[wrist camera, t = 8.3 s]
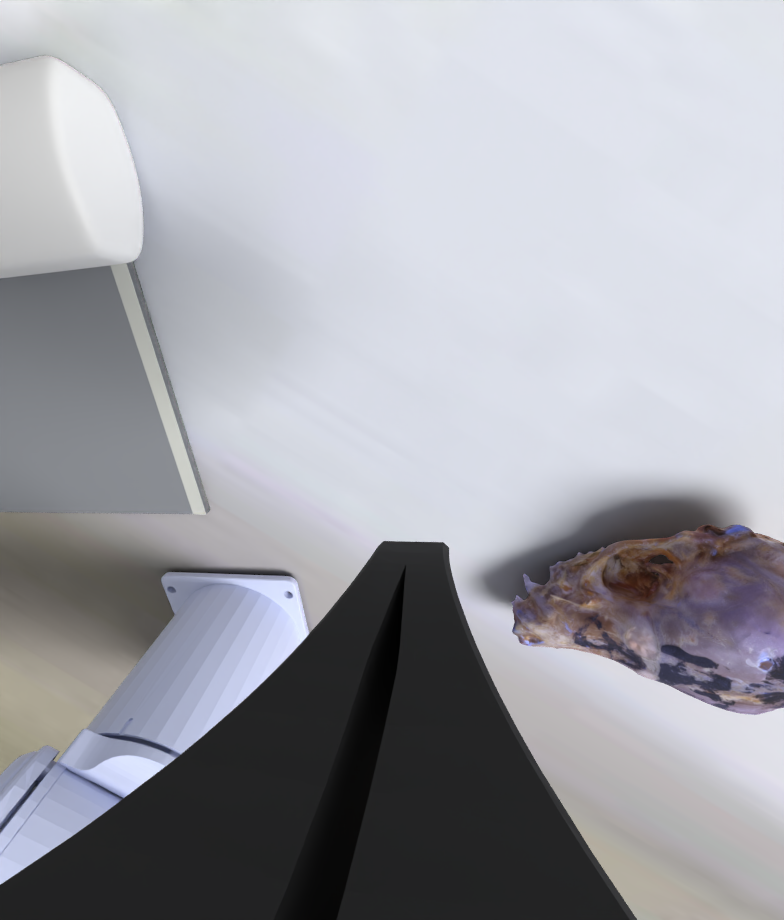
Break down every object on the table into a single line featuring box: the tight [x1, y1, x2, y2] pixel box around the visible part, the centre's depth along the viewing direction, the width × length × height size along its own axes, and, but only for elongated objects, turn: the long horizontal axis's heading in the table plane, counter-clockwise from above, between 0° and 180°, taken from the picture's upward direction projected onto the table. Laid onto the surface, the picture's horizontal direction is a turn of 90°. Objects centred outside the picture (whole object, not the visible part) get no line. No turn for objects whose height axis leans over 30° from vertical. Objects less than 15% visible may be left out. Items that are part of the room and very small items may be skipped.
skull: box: [511, 524, 784, 715], centre depth 18 cm, size 12×8×6 cm, turn 99°
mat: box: [0, 261, 210, 515], centre depth 21 cm, size 13×16×1 cm
